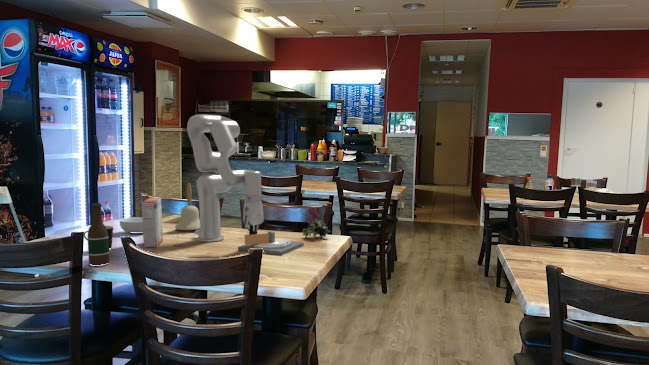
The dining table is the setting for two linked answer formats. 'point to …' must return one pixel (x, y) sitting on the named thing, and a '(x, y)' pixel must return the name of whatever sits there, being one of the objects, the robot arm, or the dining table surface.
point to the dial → (264, 239)
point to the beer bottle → (98, 238)
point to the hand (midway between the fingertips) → (253, 239)
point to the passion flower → (316, 228)
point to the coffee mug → (110, 234)
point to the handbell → (189, 214)
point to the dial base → (274, 247)
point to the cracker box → (152, 222)
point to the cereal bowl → (132, 224)
